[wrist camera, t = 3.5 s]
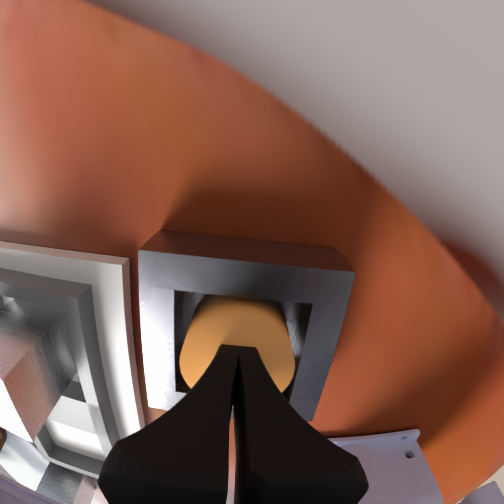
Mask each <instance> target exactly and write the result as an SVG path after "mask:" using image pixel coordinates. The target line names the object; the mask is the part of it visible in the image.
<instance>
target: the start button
mask: <svg viewBox="0 0 504 504" xmlns="http://www.w3.org/2000/svg"><path fill="white" fill-rule="evenodd" d="M221 344H226V345H236V346H248V347H256V348H257V349H258V352H259V354H260V357H261V359H262V361H263V363H264V365H265V367H266V369H267V371H268V373H269V374H270V376H271V378H272V379H273V381H274V383H275V384H276V386H277V387H278V389H279V390H280V392H281V393H282V392H283V391H284V390H285V389H286V388H287V386H288V385H289V383H290V382H291V380H292V377H293V374H294V370H295V360H294V355H293V350H292V345H291V340H290V336H289V331H288V326H287V322H286V317H285V314H284V312H283V310H282V308H281V306H280V305H279V304H278V302H277V301H276V300H264V299H254V298H243V297H233V296H224V295H215V294H208V295H206V296H205V297H204V298H203V299H202V300H201V301H200V302H199V303H198V305H197V307H196V308H195V310H194V313H193V316H192V319H191V322H190V325H189V328H188V331H187V334H186V337H185V341H184V344H183V347H182V350H181V354H180V362H179V363H180V370H181V374H182V376H183V378H184V380H185V382H186V383H187V385H188V386H189V387H190V388H192V387H193V386H194V385H195V384H196V382H197V381H198V380H199V379H200V377H201V376H202V375H203V373H204V372H205V371H206V369H207V368H208V366H209V365H210V363H211V361H212V360H213V358H214V356H215V354H216V352H217V350H218V348H219V346H220V345H221ZM232 408H233V407H232Z"/></svg>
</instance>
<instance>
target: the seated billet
mask: <svg viewBox="0 0 504 504" xmlns="http://www.w3.org/2000/svg"><path fill="white" fill-rule="evenodd" d="M77 372H78V370H77V366H76V362H75V358H74V353H73V349H72V344H71V339H70V334H69V329H68V324H67V318H66V312H65V311H62V310H58V309H53V308H49V307H45V306H40V305H36V304H32V303H28V302H24V301H20V300H17V299H12V300H11V301H10V302H8V303H7V304H6V305H4V306H3V307H2V308H1V309H0V427H2V428H4V429H6V430H8V431H10V432H12V433H14V434H16V435H18V436H20V437H22V438H24V439H26V440H29V441H31V442H33V441H34V440H35V438H36V436H37V434H38V433H39V431H40V429H41V428H42V426H43V425H44V423H45V421H46V420H47V418H48V416H49V415H50V413H51V412H52V410H53V408H54V407H55V405H56V404H57V402H58V401H59V399H60V397H61V396H62V394H63V393H64V391H65V390H66V388H67V387H68V385H69V384H70V382H71V381H72V379H73V378H74V376H75V375H76V373H77Z"/></svg>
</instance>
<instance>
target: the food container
mask: <svg viewBox="0 0 504 504" xmlns="http://www.w3.org/2000/svg"><path fill="white" fill-rule="evenodd" d="M6 438H7V437H6V433H5V430H4V428H2V427H0V451H1V449H2V447H3V445H4V443H5V441H6Z"/></svg>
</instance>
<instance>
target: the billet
mask: <svg viewBox="0 0 504 504" xmlns="http://www.w3.org/2000/svg"><path fill="white" fill-rule="evenodd" d="M36 492H37V493H39V494H42V495H44V496H46V497H48V498H50V499H53V500H55V501H57V502H60V503H62V504H90V503H91V500H92V498H93V495H94V492H95V489H94V487H93V485H92V483H91V482H90V480H89V478H88V476H87V475H85V474H82V473H79V472H76V471H73V470H71V469H68V468H65V467H63V466H60V465H58V464H55V463H53V462H50V463H49V465H48V467H47V469H46V471H45V473H44V475H43V477H42V479H41V481H40V483H39V485H38V487H37V490H36Z"/></svg>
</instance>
